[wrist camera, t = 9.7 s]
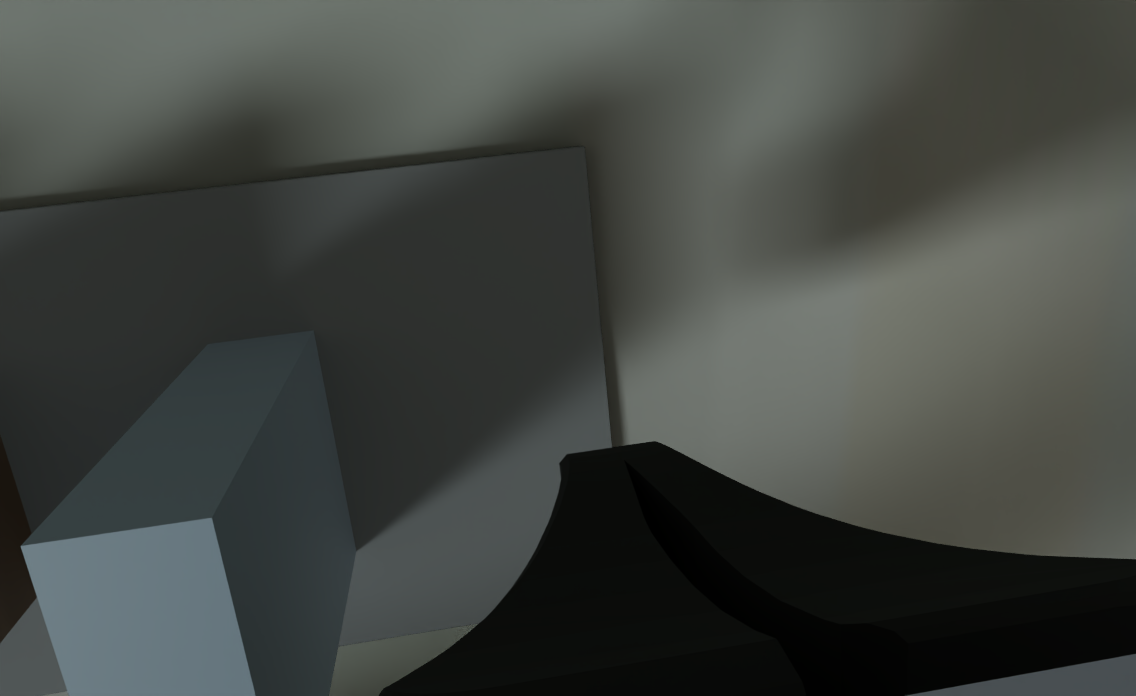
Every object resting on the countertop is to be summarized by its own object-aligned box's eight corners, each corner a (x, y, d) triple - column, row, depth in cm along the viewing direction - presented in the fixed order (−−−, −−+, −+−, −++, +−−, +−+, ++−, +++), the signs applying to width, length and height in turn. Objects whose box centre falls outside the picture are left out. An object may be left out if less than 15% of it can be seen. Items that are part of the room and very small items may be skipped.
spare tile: (313, 330, 15) (211, 517, 9) (356, 551, 17) (297, 862, 10) (208, 343, 15) (21, 546, 8) (259, 566, 16) (132, 893, 10)
